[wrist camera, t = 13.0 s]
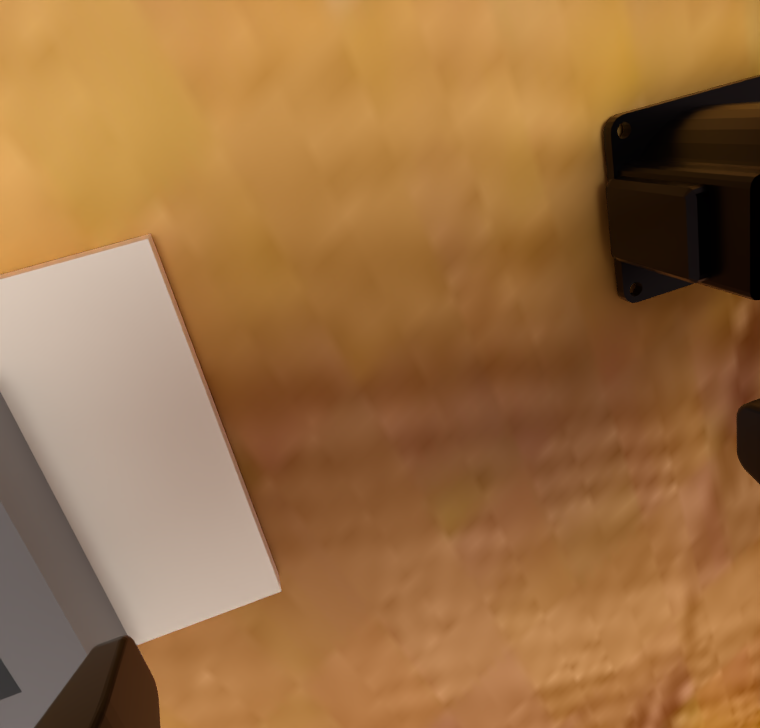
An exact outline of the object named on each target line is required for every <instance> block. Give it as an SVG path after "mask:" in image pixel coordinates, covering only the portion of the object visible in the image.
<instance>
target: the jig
mask: <svg viewBox="0 0 760 728" xmlns="http://www.w3.org/2000/svg"><path fill="white" fill-rule="evenodd" d="M279 592H281V585H280V579H279V574H278V571H277V568H276V566H275V563H274V560H273V558H272V555H271V552H270V550H269V547H268V544H267V542H266V539H265V536H264V534H263V531H262V528H261V526H260V523H259V520H258V518H257V515H256V513H255V510H254V507H253V505H252V502H251V499H250V497H249V494H248V491H247V489H246V486H245V483H244V481H243V478H242V475H241V473H240V470H239V467H238V465H237V462H236V459H235V457H234V454H233V451H232V449H231V446H230V443H229V441H228V438H227V435H226V433H225V430H224V427H223V425H222V422H221V419H220V417H219V414H218V412H217V409H216V406H215V404H214V401H213V398H212V396H211V393H210V390H209V388H208V385H207V382H206V380H205V377H204V374H203V372H202V369H201V366H200V364H199V361H198V358H197V356H196V353H195V350H194V348H193V345H192V342H191V340H190V337H189V334H188V332H187V329H186V326H185V324H184V321H183V319H182V316H181V313H180V311H179V308H178V305H177V303H176V300H175V297H174V295H173V292H172V289H171V287H170V284H169V281H168V279H167V276H166V273H165V271H164V268H163V265H162V263H161V260H160V257H159V255H158V252H157V249H156V247H155V244H154V241H153V239H152V236H151V234H147V235H143V236H140V237H136V238H132V239H129V240H125V241H122V242H118V243H114V244H111V245H107V246H103V247H100V248H96V249H92V250H89V251H85V252H81V253H78V254H74V255H71V256H67V257H63V258H60V259H56V260H52V261H49V262H45V263H41V264H38V265H34V266H31V267H27V268H23V269H20V270H16V271H12V272H9V273H5V274H1V275H0V728H34V727H35V725H36V724H37V723H38V721H39V720H40V719H41V717H42V716H43V715H44V713H45V712H46V710H47V709H48V708H49V706H50V705H51V704H52V702H53V701H54V700H55V698H56V697H57V696H58V694H59V693H60V692H61V690H62V689H63V687H64V686H65V685H66V683H67V682H68V681H69V679H70V678H71V677H72V675H73V674H74V673H75V671H76V670H77V668H78V667H79V666H80V664H81V663H82V662H83V660H84V659H85V658H86V656H87V655H88V654H89V652H90V651H91V650H92V649H93V647H94V646H96V645H97V644H99V643H102V642H105V641H107V640H110V639H113V638H116V637H118V636H121V635H128V636H130V637H131V638H132V639H133V640H134V642H135V643H136V645H139V644H142V643H144V642H147V641H150V640H152V639H155V638H158V637H161V636H163V635H166V634H169V633H171V632H174V631H177V630H179V629H182V628H185V627H187V626H190V625H193V624H195V623H198V622H201V621H203V620H206V619H209V618H211V617H214V616H217V615H220V614H222V613H225V612H228V611H230V610H233V609H236V608H238V607H241V606H244V605H246V604H249V603H252V602H254V601H257V600H260V599H262V598H265V597H268V596H270V595H273V594H276V593H279Z"/></svg>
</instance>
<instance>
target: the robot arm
mask: <svg viewBox="0 0 760 728" xmlns="http://www.w3.org/2000/svg"><path fill="white" fill-rule="evenodd" d="M620 124H622V125H623V127H624V131H623V134H622V136H621V137H619V136H618V133H617V130H618V127H619V125H620ZM604 145H605V156H606V168H607V179H608V184H607V187H606V197H607V208H608V219H609V231H610V242H611V253H612V256H613V257H614V260H615V271H616V283H617V292H618V295H619V296H620V298H621V299H624V300H626V301H629V302H632V303H635V302H639V301H642V300H645V299H648V298H651V297H654V296H657V295H661V294H664V293H667V292H670V291H673V290H676V289H679V288H682V287H685V286H688V285H691V284H694V283H700V284H703V285H706V286H709V287H713V288H716V289H719V290H723V291H726V292H729V293H733V294H736V295H739V296H742V297H746V298H749V299H752V300H760V75H757V76H754V77H750V78H747V79H743V80H739V81H736V82H732V83H728V84H725V85H721V86H718V87H714V88H710V89H707V90H703V91H700V92H696V93H692V94H689V95H685V96H682V97H678V98H674V99H671V100H667V101H663V102H660V103H656V104H653V105H649V106H645V107H642V108H638V109H635V110H631V111H627V112H624V113H620V114H617V115H614V116H612V117H611V118H610V119H609V120H608V121H607V122H606V125H605V127H604ZM634 283H635V284H636V285H635V289H634V291H633V292H631V293H630V287H631V286H632V284H634ZM736 418H737V455H738V459H739V461H740V463H741V465H742V466H743V468H744V469H745V470H746V471H747V472H748V473H749V474H750V475H751V476H752V477H753V478H754V479H755V480H756V481H757V482H758V483H759V484H760V399H757V400H754V401H752V402H749V403H746V404H744V405H742V406H741V407H740V408H739V409H738V412H737V417H736ZM34 728H160V714H159V699H158V691H157V687H156V683H155V680H154V678H153V676H152V674H151V672H150V670H149V668H148V666H147V664H146V662H145V660H144V659H143V657H142V655H141V653H140V651H139V649H138V647H137V645H136V643H135V642H134V640H133V639H132V638H131V637H130V636H128V635H121V636H118V637H116V638H113V639H110V640H107V641H105V642H102V643H99V644H97V645H96V646H94V647H93V649H92V650H91V651H90V652H89V654H88V655H87V656H86V658H85V659H84V660H83V662H82V663H81V664H80V666H79V667H78V668H77V670H76V671H75V673H74V674H73V675H72V677H71V678H70V679H69V681H68V682H67V683H66V685H65V686H64V687H63V689H62V690H61V692H60V693H59V694H58V696H57V697H56V698H55V700H54V701H53V702H52V704H51V705H50V706H49V708H48V709H47V710H46V712H45V713H44V715H43V716H42V717H41V719H40V720H39V721H38V723H37V724H36V725H35V727H34Z"/></svg>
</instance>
